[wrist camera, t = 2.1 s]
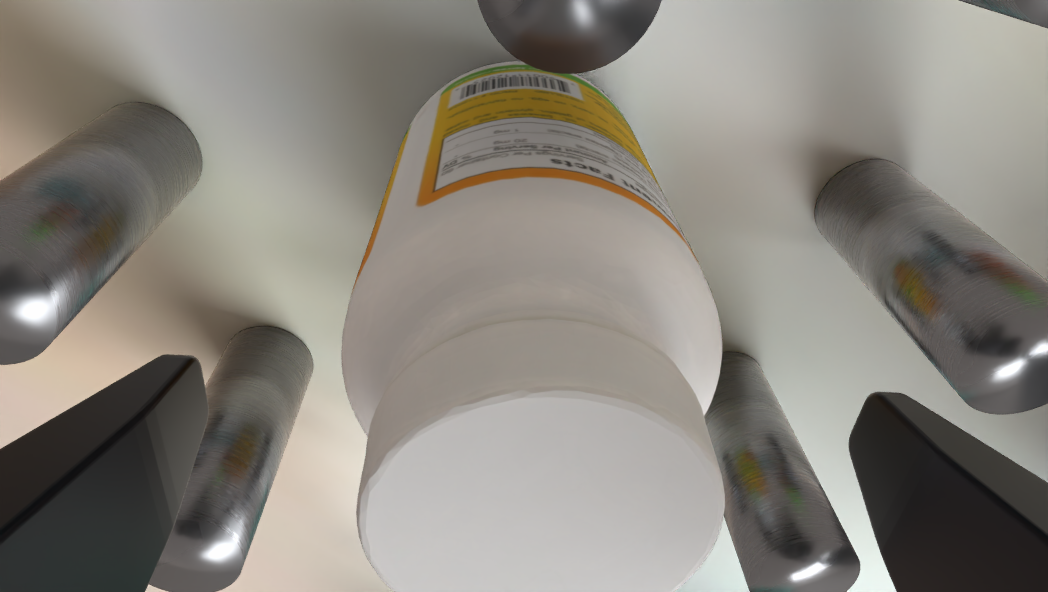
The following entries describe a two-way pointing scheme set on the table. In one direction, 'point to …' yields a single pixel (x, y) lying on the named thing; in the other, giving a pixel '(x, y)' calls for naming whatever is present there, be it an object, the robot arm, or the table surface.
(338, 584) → the table surface
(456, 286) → the supplement bottle
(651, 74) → the table surface
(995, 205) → the table surface
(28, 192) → the spacer field
